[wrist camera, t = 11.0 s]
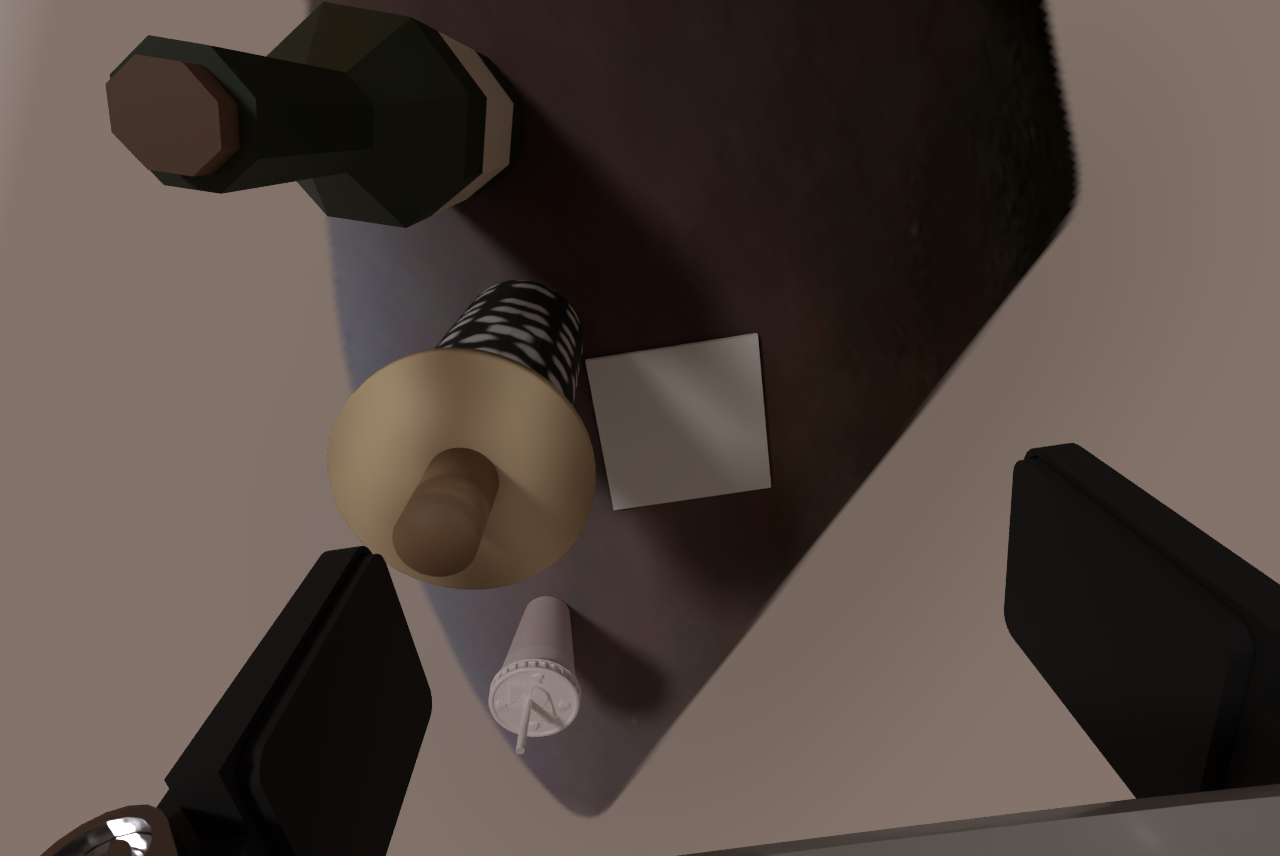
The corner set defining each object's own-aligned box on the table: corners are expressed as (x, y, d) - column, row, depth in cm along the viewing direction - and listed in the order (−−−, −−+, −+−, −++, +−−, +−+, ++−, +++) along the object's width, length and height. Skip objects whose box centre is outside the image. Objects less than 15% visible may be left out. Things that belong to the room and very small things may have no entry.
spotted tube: (605, 363, 49) (596, 505, 31) (504, 416, 50) (437, 581, 32) (543, 257, 46) (492, 343, 28) (437, 316, 48) (322, 435, 29)
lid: (566, 325, 28) (553, 370, 23) (616, 558, 32) (616, 639, 27) (295, 372, 28) (224, 426, 23) (381, 595, 32) (337, 682, 27)
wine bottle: (550, 98, 42) (421, 44, 15) (488, 220, 45) (282, 367, 18) (422, 15, 41) (5, -221, 13) (366, 148, 43) (-80, 185, 16)
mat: (756, 333, 49) (757, 334, 48) (770, 485, 53) (771, 487, 53) (585, 359, 49) (585, 360, 49) (613, 507, 54) (613, 510, 53)
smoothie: (548, 568, 56) (527, 701, 43) (602, 617, 58) (598, 757, 45) (491, 612, 57) (454, 753, 44) (546, 658, 59) (525, 806, 46)
